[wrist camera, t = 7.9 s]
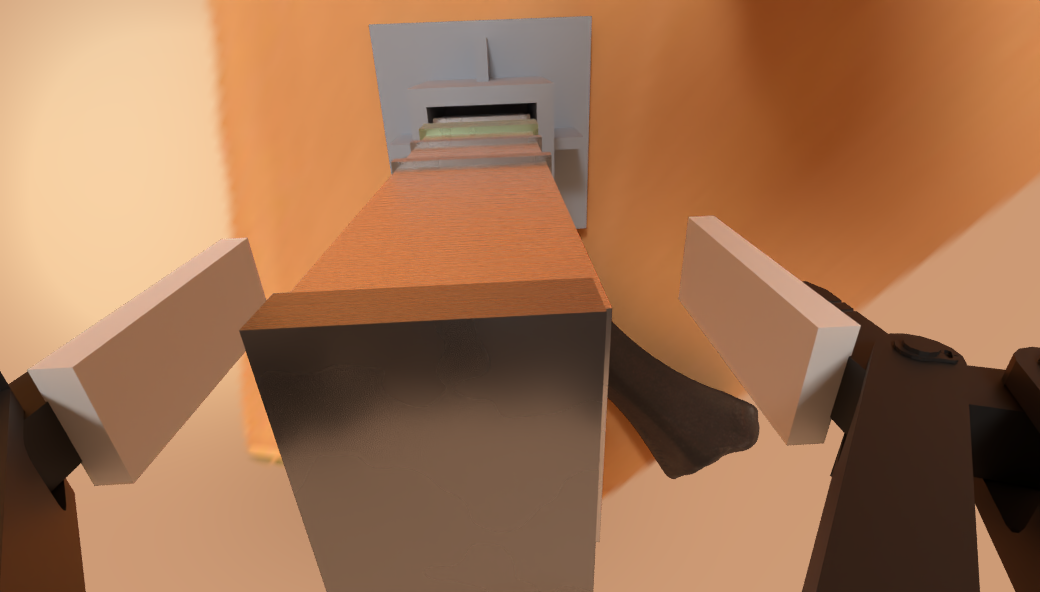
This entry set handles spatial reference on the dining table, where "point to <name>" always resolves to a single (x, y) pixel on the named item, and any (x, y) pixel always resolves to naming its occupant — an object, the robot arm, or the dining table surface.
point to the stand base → (492, 84)
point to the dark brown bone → (676, 410)
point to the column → (446, 376)
